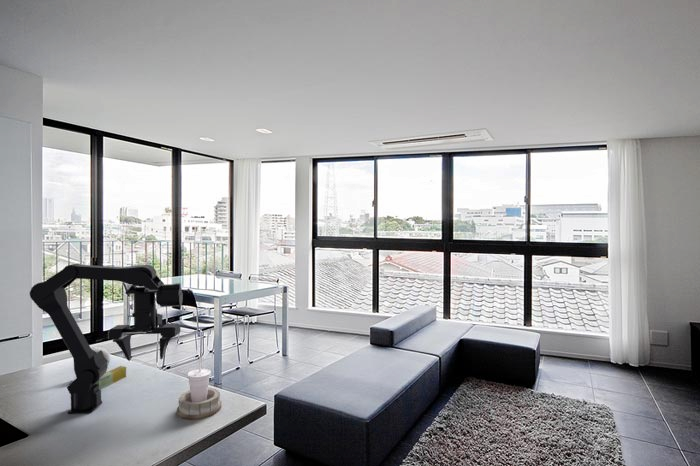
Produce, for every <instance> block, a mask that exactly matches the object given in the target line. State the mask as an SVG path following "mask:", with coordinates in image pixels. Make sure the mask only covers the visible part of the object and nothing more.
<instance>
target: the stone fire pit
mask: <svg viewBox="0 0 700 466" xmlns="http://www.w3.org/2000/svg"><path fill="white" fill-rule="evenodd" d="M220 394H221V393H220V391H219V390H218V389H216V388H212V387H208V394H207V400H205V401H202V402H192V400H191V393H190V390H187V391H186V392H183V393H181V394H180V396H179V397H178V406H177V409H176V414H177V417H179V418H180V419H183V420H190V421H191V420H193V421H194V420H201V419H206V418H209V417H212V416H214V415H216V414H217V413H218V412H220V410H221V409H222V401H221V397H220V396H221V395H220Z"/></svg>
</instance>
